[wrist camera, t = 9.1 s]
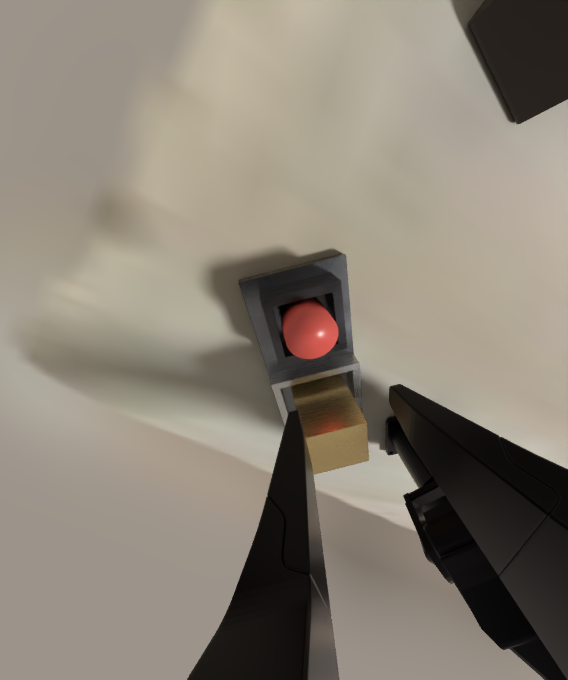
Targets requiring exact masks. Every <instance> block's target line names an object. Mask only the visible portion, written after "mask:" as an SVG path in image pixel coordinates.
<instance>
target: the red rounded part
mask: <svg viewBox="0 0 568 680" xmlns="http://www.w3.org/2000/svg"><path fill="white" fill-rule="evenodd" d="M281 326H282V330H283V334H284V338H285V341H286V345H287V347H288V349H289V350H290V352H291V353H292V354H294V355H295V356H297V357H299V358H303V359H315V358H318V357H321V356H323V355H325V354H326V353H328V352H329V351H330V350H331V349H332V348H333V347H334V345H335V343H336V341H337V339H338V326H337V324H336V322H335V320H334V319H333V318H332V316H331V315H330V314H329V312H328V311H327V310H326V308H325V307H324V306H323V304H322V303H321V302H320V301H318V300H316V299H314V298H307V299H304V300H300V301H296V302H292V303H289V304H288V305H287V306H286V307H285V309H284V310H283V312H282V315H281Z"/></svg>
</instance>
